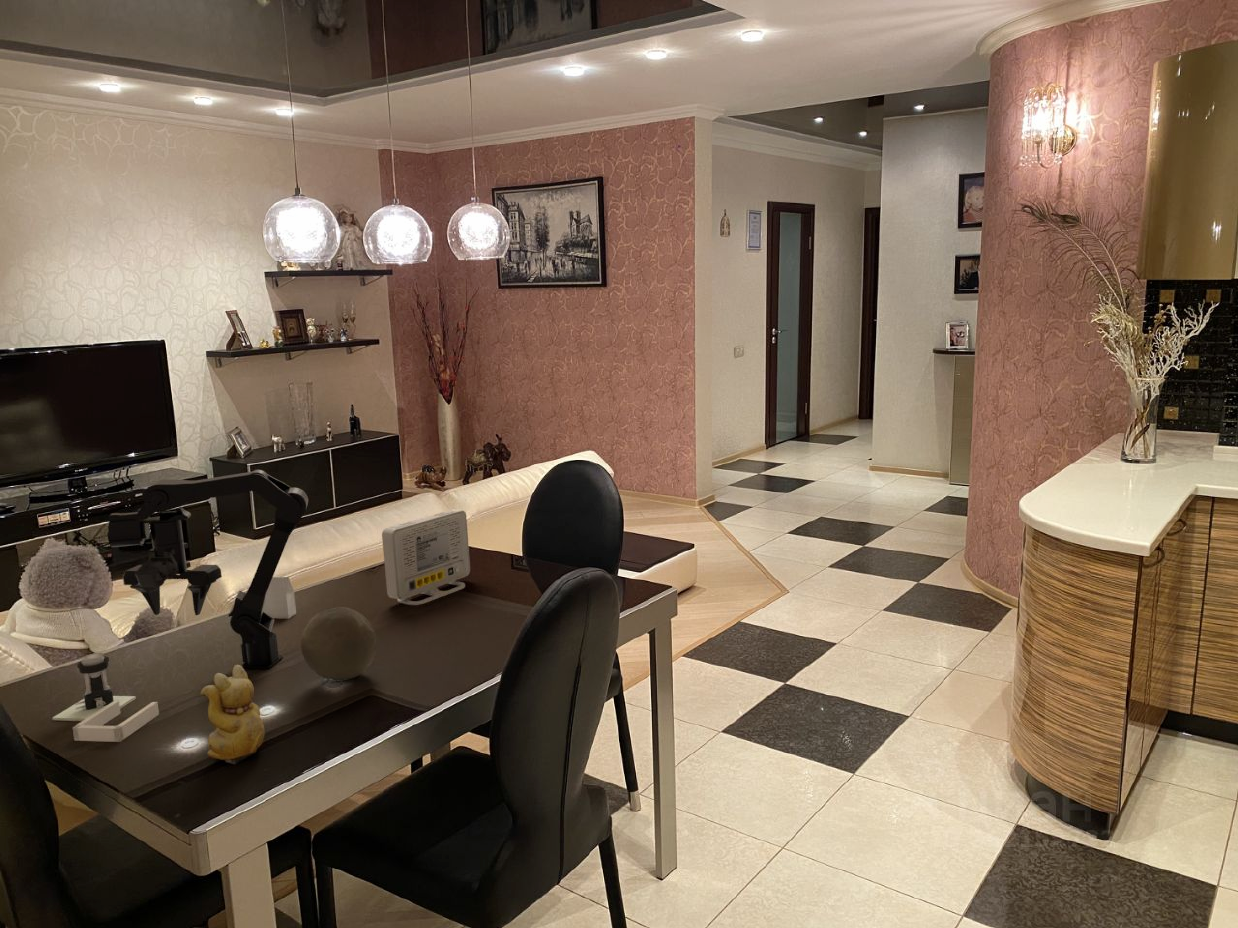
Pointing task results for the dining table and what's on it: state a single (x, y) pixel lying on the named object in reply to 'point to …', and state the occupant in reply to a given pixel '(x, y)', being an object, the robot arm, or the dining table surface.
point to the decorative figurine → (233, 717)
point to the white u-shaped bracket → (96, 732)
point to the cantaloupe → (338, 643)
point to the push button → (95, 681)
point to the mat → (83, 713)
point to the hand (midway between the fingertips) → (177, 614)
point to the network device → (426, 556)
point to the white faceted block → (280, 598)
